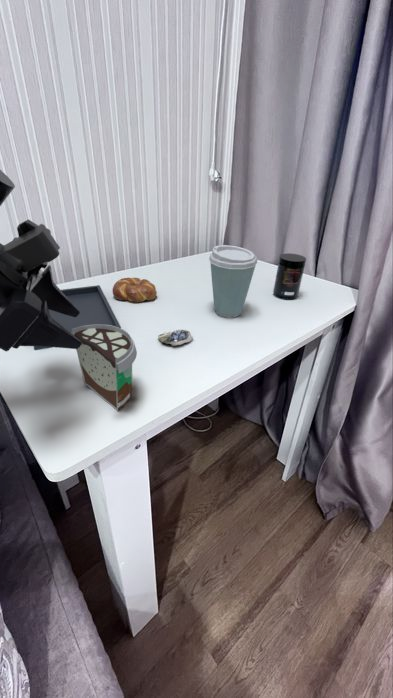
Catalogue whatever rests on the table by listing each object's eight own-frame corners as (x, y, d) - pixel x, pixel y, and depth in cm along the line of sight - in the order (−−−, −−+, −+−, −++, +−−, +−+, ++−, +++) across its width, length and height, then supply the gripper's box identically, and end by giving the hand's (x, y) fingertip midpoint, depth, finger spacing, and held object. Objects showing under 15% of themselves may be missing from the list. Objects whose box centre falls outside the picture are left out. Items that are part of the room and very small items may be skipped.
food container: (155, 397, 53) (153, 344, 48) (123, 416, 49) (118, 361, 44) (110, 364, 60) (104, 315, 54) (79, 379, 56) (69, 327, 51)
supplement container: (292, 290, 93) (300, 253, 88) (301, 300, 88) (310, 261, 82) (269, 290, 92) (275, 253, 87) (277, 300, 87) (284, 261, 81)
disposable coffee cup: (250, 305, 84) (258, 245, 76) (249, 325, 75) (259, 259, 67) (208, 301, 85) (212, 241, 77) (203, 320, 76) (207, 255, 68)
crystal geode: (152, 342, 67) (151, 334, 66) (171, 326, 73) (171, 318, 72) (181, 351, 64) (181, 343, 63) (199, 333, 70) (199, 326, 69)
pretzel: (166, 294, 87) (166, 280, 85) (140, 308, 80) (139, 294, 78) (132, 283, 93) (131, 270, 91) (103, 296, 85) (102, 282, 83)
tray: (34, 350, 63) (32, 341, 62) (31, 300, 81) (29, 293, 80) (121, 334, 69) (120, 326, 68) (100, 292, 87) (99, 285, 86)
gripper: (-13, 220, 29) (125, 318, 38) (14, 190, 44) (109, 265, 53) (-81, 311, 31) (65, 383, 40) (-34, 253, 46) (65, 315, 55)
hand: (78, 329), depth 47 cm, fingers open, 9 cm apart
